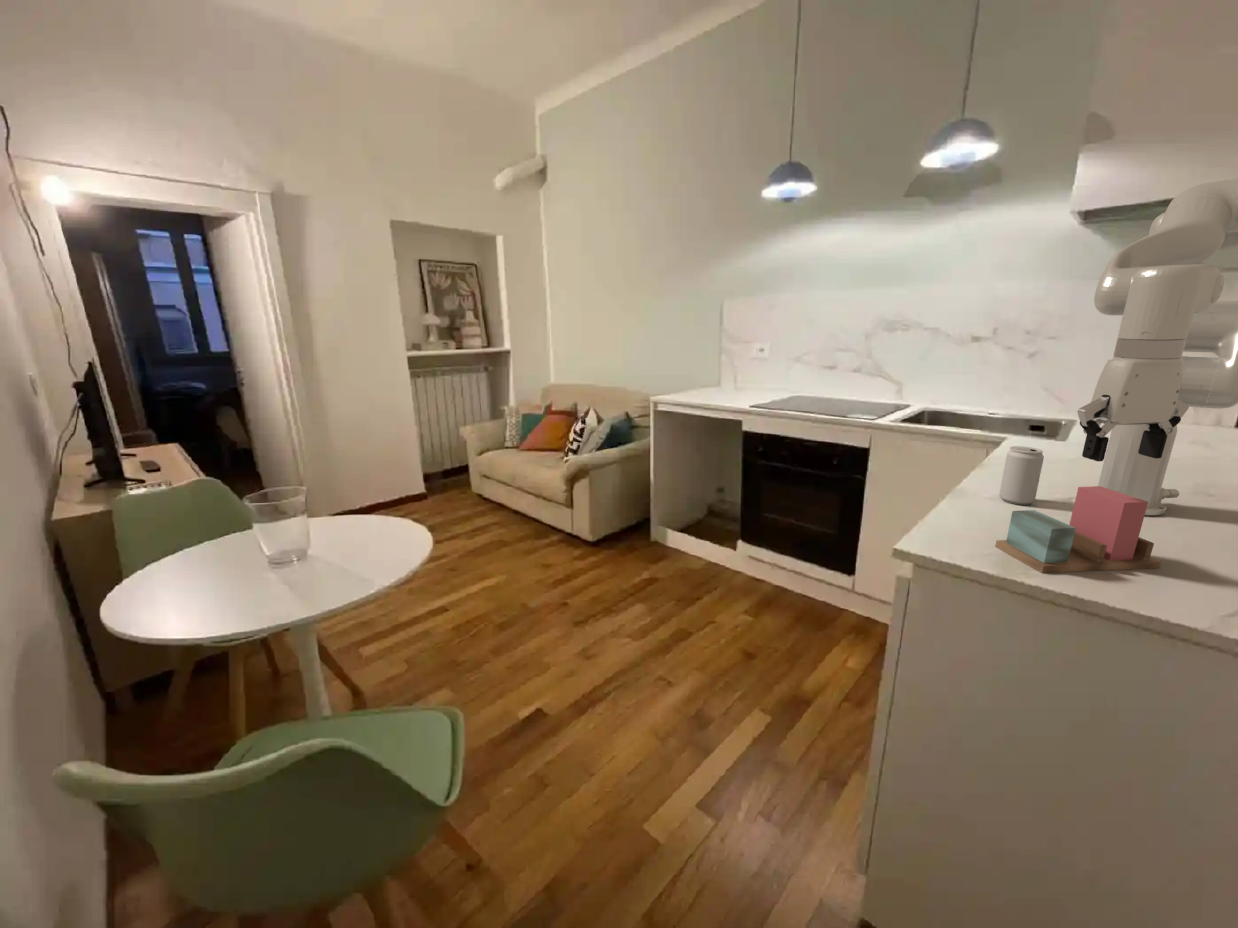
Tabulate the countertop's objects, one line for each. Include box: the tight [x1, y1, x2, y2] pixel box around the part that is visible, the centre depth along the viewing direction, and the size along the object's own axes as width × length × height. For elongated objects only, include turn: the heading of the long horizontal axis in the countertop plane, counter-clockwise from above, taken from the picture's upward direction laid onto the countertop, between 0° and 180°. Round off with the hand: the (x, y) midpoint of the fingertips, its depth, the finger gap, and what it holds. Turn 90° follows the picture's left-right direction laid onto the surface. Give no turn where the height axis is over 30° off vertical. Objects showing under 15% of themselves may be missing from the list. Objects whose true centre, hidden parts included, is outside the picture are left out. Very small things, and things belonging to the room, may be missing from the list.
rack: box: [995, 509, 1162, 574], centre depth 88 cm, size 20×10×7 cm, turn 93°
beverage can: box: [998, 445, 1045, 506], centre depth 114 cm, size 6×6×12 cm
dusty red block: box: [1069, 485, 1148, 560], centre depth 88 cm, size 4×8×10 cm, turn 4°
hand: (1120, 457), depth 85 cm, fingers open, 9 cm apart
